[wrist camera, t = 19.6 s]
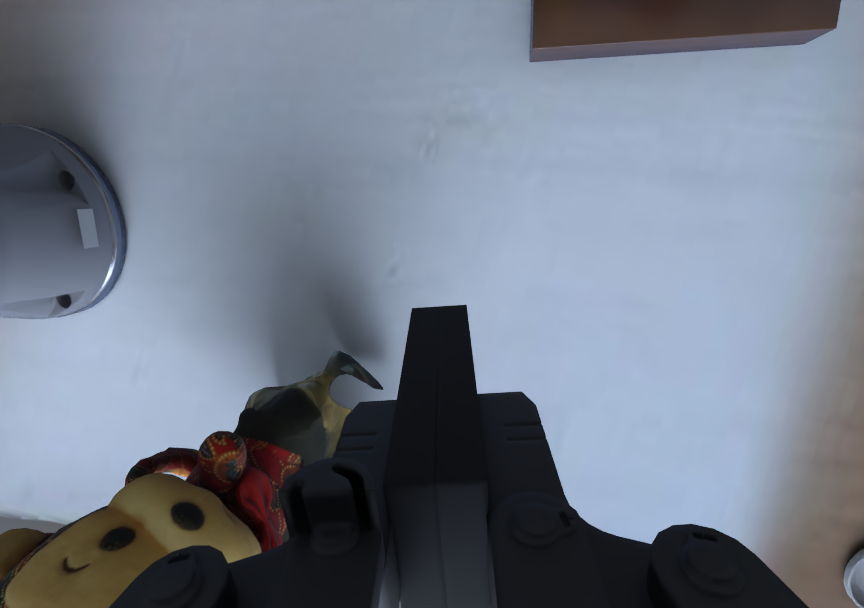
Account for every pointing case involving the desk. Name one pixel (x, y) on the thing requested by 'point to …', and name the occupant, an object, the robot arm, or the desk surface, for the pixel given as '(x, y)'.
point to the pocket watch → (855, 578)
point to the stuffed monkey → (184, 501)
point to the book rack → (672, 26)
